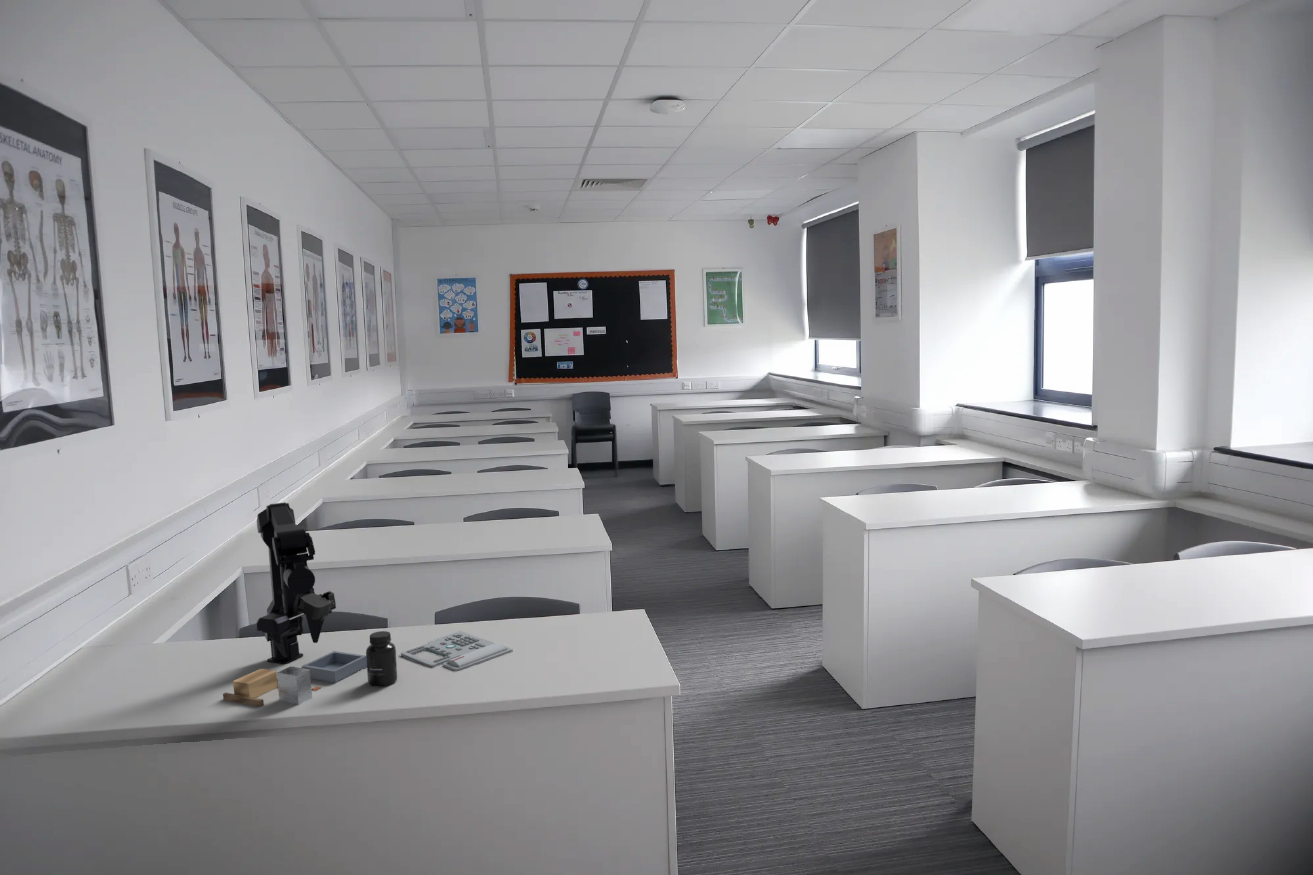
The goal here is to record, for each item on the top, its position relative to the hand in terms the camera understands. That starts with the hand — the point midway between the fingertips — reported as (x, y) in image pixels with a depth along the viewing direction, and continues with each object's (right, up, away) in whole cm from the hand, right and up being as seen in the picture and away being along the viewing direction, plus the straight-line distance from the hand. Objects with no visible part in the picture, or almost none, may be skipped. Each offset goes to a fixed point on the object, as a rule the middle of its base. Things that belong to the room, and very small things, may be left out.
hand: (300, 649), depth 198 cm
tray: (+2, -10, +16) cm, 19 cm away
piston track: (-8, -11, +3) cm, 14 cm away
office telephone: (+30, -8, +27) cm, 41 cm away
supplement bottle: (+16, -10, +8) cm, 21 cm away
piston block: (-12, -11, +5) cm, 18 cm away
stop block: (-1, -12, 0) cm, 12 cm away
